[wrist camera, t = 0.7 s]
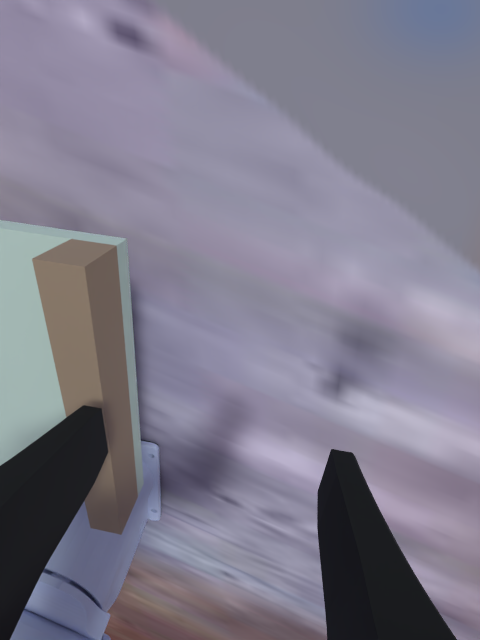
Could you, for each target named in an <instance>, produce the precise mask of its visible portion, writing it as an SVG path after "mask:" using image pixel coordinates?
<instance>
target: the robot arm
mask: <svg viewBox="0 0 480 640" xmlns="http://www.w3.org/2000/svg"><path fill="white" fill-rule="evenodd" d="M141 451H142V466H143V480H144V484H143V486H142V489H141V491H140V493H139V496H138V498H137V500H136V502H135V505H134V507H133V509H132V512H131V514H130V516H129V519H128V521H127V523H126V525H125V528H124V530H123V532H122V535H120V534H115V533H111V532H106V531H102V530H97V529H93V528H90V524H89V519H88V515H87V510H86V506H85V501H84V500H85V499H86V497H87V495H88V494H89V492H90V490H91V488H92V487H93V485H94V483H95V481H96V479H97V477H98V475H99V472H100V470H101V468H102V466H103V463H104V461H105V459H106V456H107V454H108V446H107V440H106V433H105V427H104V421H103V415H102V408H97V407H91V406H86V405H83V406H81V407H80V408H79V409H77V410H76V411H75V412H73V413H72V414H70V415H69V416H68V417H66V418H65V419H64V420H62V421H61V422H60V423H58V424H57V425H56V426H55V427H53V428H52V429H51V430H49V431H48V432H46V433H45V434H44V435H42V436H41V437H40V438H38V439H37V440H36V441H34V442H33V443H32V444H30V445H29V446H27V447H26V448H25V449H23V450H22V451H21V452H19V453H18V454H16V455H15V456H14V457H12V458H11V459H9V460H8V461H6V462H5V463H3V464H2V465H1V466H0V640H111V639H110V637H109V636H108V635H107V634H104V631H105V628H106V626H107V623H108V621H109V618H110V614H109V613H107V611H108V610H109V608H110V607H111V606H112V604H113V603H114V602H115V600H116V598H117V597H118V595H119V593H120V590H121V588H122V585H123V583H124V580H125V577H126V575H127V572H128V570H129V567H130V564H131V562H132V559H133V557H134V554H135V551H136V549H137V546H138V544H139V541H140V538H141V536H142V533H143V531H144V528H145V525H146V523H147V520H148V519H149V520H154V521H158V520H160V517H161V490H160V455H159V447H158V445H156V444H155V443H151V442H146V441H141ZM318 539H319V549H320V560H321V570H322V581H323V591H324V601H325V612H326V624H327V640H457V639H456V637H455V636H454V635H453V633H452V632H451V630H450V629H449V627H448V626H447V624H446V623H445V621H444V620H443V618H442V617H441V615H440V614H439V612H438V610H437V609H436V607H435V606H434V604H433V603H432V601H431V600H430V598H429V596H428V595H427V593H426V592H425V590H424V588H423V587H422V585H421V584H420V582H419V580H418V579H417V577H416V575H415V574H414V572H413V570H412V568H411V567H410V565H409V563H408V562H407V560H406V558H405V556H404V555H403V553H402V551H401V549H400V548H399V546H398V544H397V542H396V540H395V538H394V537H393V535H392V533H391V531H390V529H389V527H388V525H387V523H386V521H385V519H384V518H383V516H382V514H381V512H380V510H379V508H378V506H377V504H376V502H375V500H374V498H373V496H372V493H371V491H370V489H369V487H368V485H367V483H366V481H365V478H364V476H363V474H362V472H361V469H360V467H359V465H358V462H357V460H356V458H355V456H354V454H353V453H351V452H345V451H339V450H334V449H331V452H330V455H329V458H328V461H327V464H326V467H325V471H324V474H323V477H322V480H321V483H320V486H319V489H318Z"/></svg>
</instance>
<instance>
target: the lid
mask: <svg viewBox="0 0 480 640" xmlns="http://www.w3.org/2000/svg"><path fill="white" fill-rule="evenodd" d="M83 405H86V406H91V407H97V408H102V415H103V421H104V427H105V433H106V440H107V446H108V454H107V456H106V459H105V461H104V463H103V466H102V468H101V470H100V472H99V475H98V477H97V479H96V481H95V483H94V485H93V487H92V488H91V490H90V492H89V494H88V495H87V497H86V499H85V500H84V501H85V506H86V510H87V515H88V519H89V524H90V528H93V529H97V530H102V531H106V532H111V533H115V534H120V535H122V532H123V530H124V528H125V525H126V523H127V521H128V519H129V516H130V514H131V512H132V509H133V507H134V505H135V502H136V500H137V498H138V496H139V493H140V491H141V489H142V486H143V484H144V480H143V466H142V451H141V436H140V422H139V407H138V393H137V378H136V363H135V349H134V334H133V319H132V305H131V290H130V275H129V261H128V246H127V239H125V238H119V237H112V236H105V235H98V234H91V233H85V232H78V231H71V230H64V229H57V228H51V227H44V226H37V225H30V224H24V223H17V222H10V221H3V220H0V466H1V465H2V464H3V463H5V462H6V461H8V460H9V459H11V458H12V457H14V456H15V455H16V454H18V453H19V452H21V451H22V450H23V449H25V448H26V447H27V446H29V445H30V444H32V443H33V442H34V441H36V440H37V439H38V438H40V437H41V436H42V435H44V434H45V433H46V432H48V431H49V430H51V429H52V428H53V427H55V426H56V425H57V424H58V423H60V422H61V421H62V420H64V419H65V418H66V417H68V416H69V415H70V414H72V413H73V412H75V411H76V410H77V409H79V408H80V407H81V406H83Z"/></svg>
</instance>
